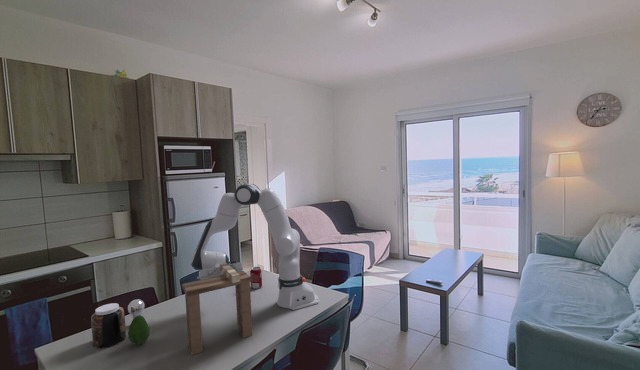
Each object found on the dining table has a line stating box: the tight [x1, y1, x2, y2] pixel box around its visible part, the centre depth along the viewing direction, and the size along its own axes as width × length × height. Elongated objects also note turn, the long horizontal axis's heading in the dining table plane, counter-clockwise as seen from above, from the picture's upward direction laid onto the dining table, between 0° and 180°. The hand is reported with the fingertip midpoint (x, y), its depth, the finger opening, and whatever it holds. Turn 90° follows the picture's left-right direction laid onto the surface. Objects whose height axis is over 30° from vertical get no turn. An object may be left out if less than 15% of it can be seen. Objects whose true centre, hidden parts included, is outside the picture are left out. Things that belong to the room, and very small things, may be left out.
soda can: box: [249, 266, 263, 290], centre depth 191 cm, size 7×7×12 cm
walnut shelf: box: [182, 270, 253, 356], centre depth 134 cm, size 10×26×26 cm, turn 123°
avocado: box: [127, 315, 151, 345], centre depth 134 cm, size 8×8×12 cm
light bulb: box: [127, 298, 146, 320], centre depth 150 cm, size 7×7×12 cm
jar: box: [90, 302, 127, 349], centre depth 136 cm, size 12×12×15 cm
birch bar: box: [219, 262, 240, 283], centre depth 139 cm, size 20×3×3 cm, turn 33°
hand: (224, 266), depth 145 cm, fingers open, 8 cm apart
